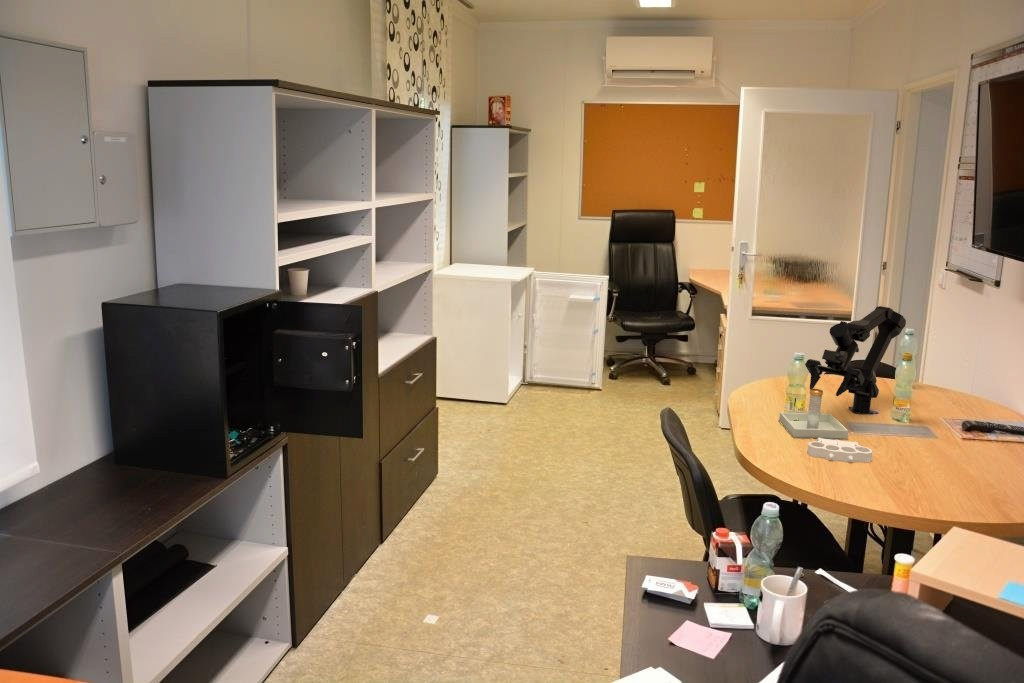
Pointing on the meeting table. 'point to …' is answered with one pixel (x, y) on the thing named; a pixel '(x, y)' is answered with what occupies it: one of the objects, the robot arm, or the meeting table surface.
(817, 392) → the grey cylinder
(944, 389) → the meeting table surface
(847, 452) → the white brass knuckles
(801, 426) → the tray
